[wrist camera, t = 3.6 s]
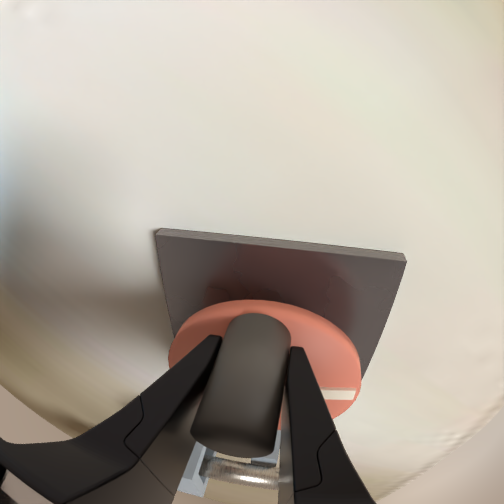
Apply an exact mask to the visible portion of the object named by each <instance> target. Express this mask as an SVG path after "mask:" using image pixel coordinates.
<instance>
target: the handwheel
mask: <svg viewBox="0 0 504 504" xmlns="http://www.w3.org/2000/svg"><path fill="white" fill-rule="evenodd" d="M210 334H213V335H219V336H221V337H222V339H223V341H222V344H221V347H220V349H219V352H218V355H217V358H216V360H215V363H214V366H213V369H212V371H211V374H210V377H209V380H208V382H207V385H206V388H205V391H204V393H203V396H202V399H201V402H200V404H199V407H198V410H197V413H196V415H195V418H194V421H193V424H192V426H191V429H190V433H191V435H192V437H193V438H194V439H195V440H196V441H197V442H199V443H200V444H202V445H203V446H205V447H207V448H209V449H211V450H213V451H216V452H219V453H222V454H225V455H229V456H234V457H241V458H260V457H264V456H268V455H270V454H271V453H272V452H273V451H274V447H275V442H276V436H277V430H281V408H282V400H283V394H284V387H285V380H286V374H287V367H288V360H289V353H290V347H291V346H299V347H303V348H304V350H305V352H306V355H307V357H308V360H309V362H310V365H311V367H312V369H313V372H314V374H315V377H316V379H317V382H318V384H319V387H320V389H321V392H322V394H323V397H324V399H325V402H326V404H327V407H328V409H329V412H330V414H331V417H332V419H334V418H335V417H337V416H339V415H340V414H342V413H343V412H345V411H346V410H347V409H348V408H349V407H350V406H351V405H352V404H353V402H354V401H355V400H356V398H357V396H358V394H359V392H360V388H361V367H360V359H359V355H358V352H357V350H356V348H355V346H354V344H353V343H352V341H351V340H350V338H349V337H348V336H347V335H346V334H345V333H344V332H343V331H342V330H341V329H340V328H338V327H337V326H336V325H334V324H333V323H332V322H330V321H328V320H327V319H325V318H323V317H321V316H320V315H317V314H315V313H313V312H311V311H308V310H306V309H303V308H300V307H297V306H293V305H290V304H285V303H280V302H275V301H266V300H235V301H228V302H223V303H218V304H215V305H212V306H209V307H206V308H204V309H202V310H200V311H198V312H196V313H195V314H193V315H192V316H191V317H189V318H188V319H187V320H186V321H185V322H184V323H183V325H182V326H181V328H180V329H179V331H178V333H177V335H176V337H175V339H174V341H173V343H172V345H171V347H170V350H169V356H168V361H169V367H170V368H172V367H173V366H174V365H175V364H176V363H177V362H178V361H180V360H181V359H182V358H183V357H184V356H185V355H187V354H188V353H189V352H190V351H191V350H192V349H193V348H195V347H196V346H197V345H198V344H199V343H200V342H201V341H203V340H204V339H205V338H206V337H207V336H208V335H210Z"/></svg>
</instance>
